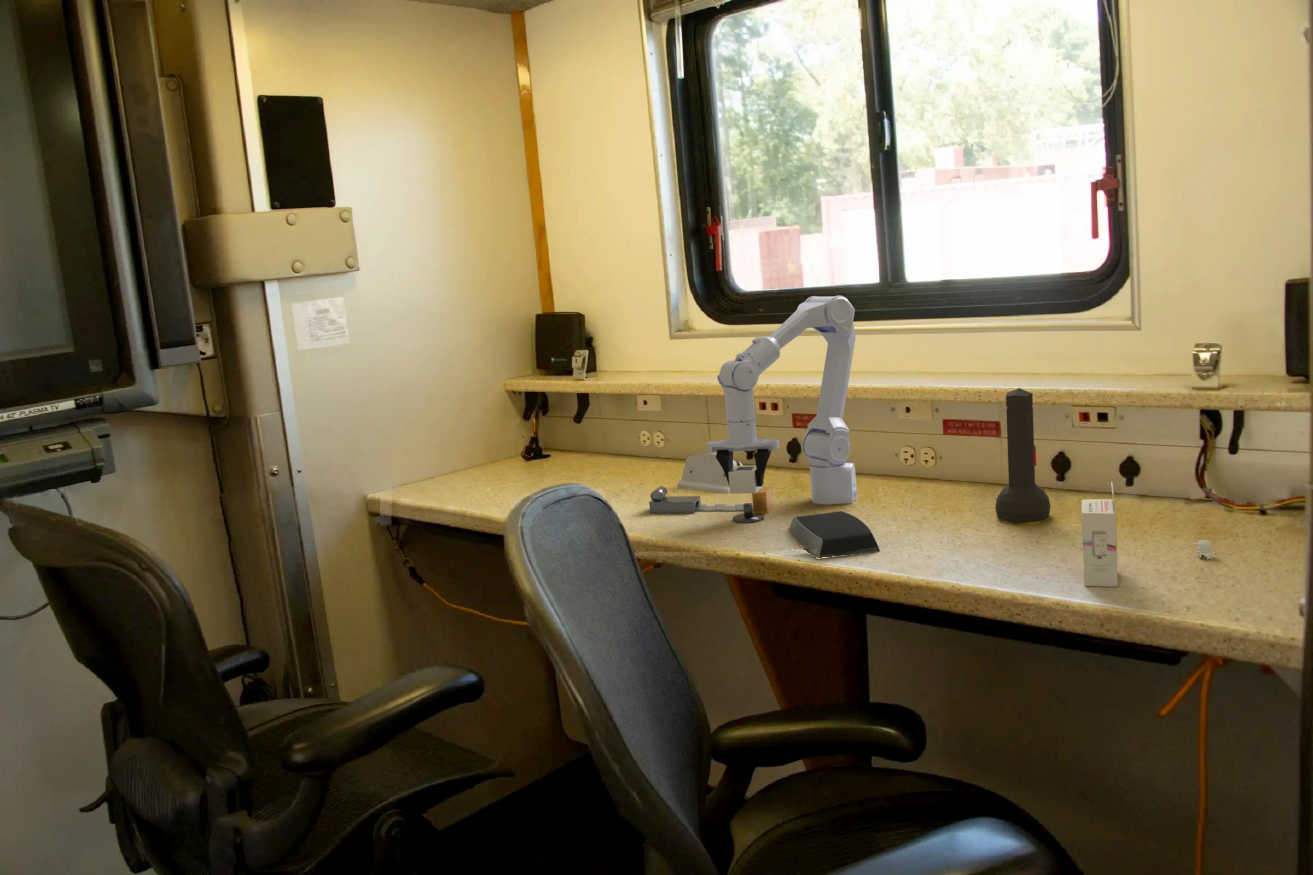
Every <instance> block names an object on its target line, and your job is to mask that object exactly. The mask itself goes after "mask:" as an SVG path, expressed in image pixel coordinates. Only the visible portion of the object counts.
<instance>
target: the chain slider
mask: <svg viewBox="0 0 1313 875" xmlns="http://www.w3.org/2000/svg"><path fill="white" fill-rule="evenodd" d="M772 491H773V490H772V486H762V488H761V489H760V490H759V491H758V492H757V493H751V498H752V510H753V513H760V514H768V513H769V512H770V511H771V509H772V508H773V506H774V505H773V492H772ZM743 504H744V503H736V504H734V505H727V503H726V504H725V503H724V504H721V503H716V504H714V505H708V504H704V503H701V504H696V505H695V506H696V512H698V511H699V512H701V511H705V512H716V511H725V512H729V511H730V512H735V511H744V509H743Z"/></svg>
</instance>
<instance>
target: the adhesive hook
mask: <svg viewBox="0 0 1313 875" xmlns="http://www.w3.org/2000/svg"><path fill="white" fill-rule="evenodd" d="M1211 542H1212V541H1210V540H1206V539H1199V540H1198V542H1194V541H1192V544H1193V545H1197V547H1196V548H1197V550H1195V551H1194V553H1195V554H1196V555H1197V554H1198V555H1200V556H1199V558H1201V559H1202V556H1206V559H1207V560H1208V559H1209V558H1210V556H1214V557H1215V556H1216V555H1215V554H1216V553H1215V552H1214V551H1212V544H1211ZM1202 554H1203V555H1202ZM1210 559H1211V558H1210Z"/></svg>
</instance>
